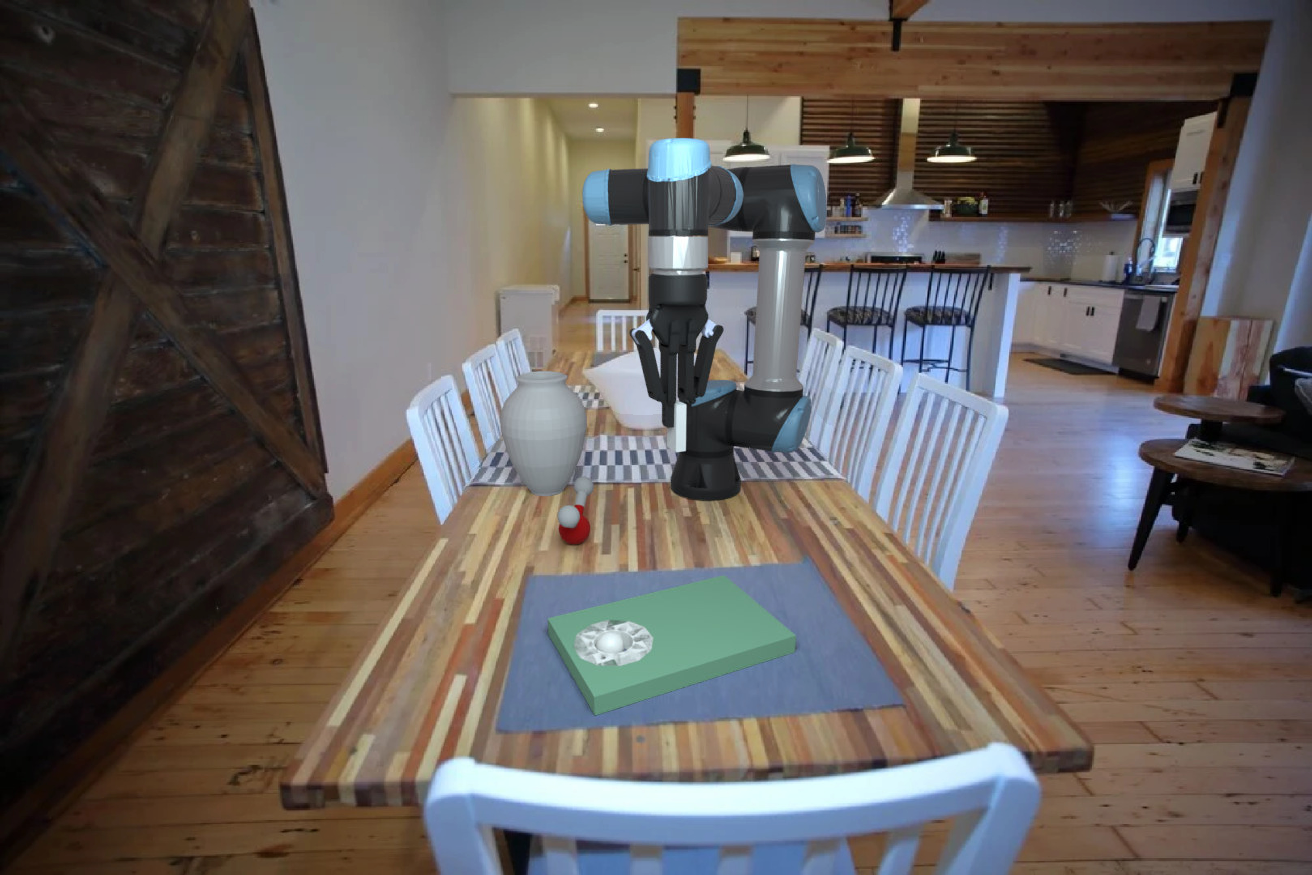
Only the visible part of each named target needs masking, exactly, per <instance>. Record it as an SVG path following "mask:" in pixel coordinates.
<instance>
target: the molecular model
mask: <svg viewBox="0 0 1312 875" xmlns="http://www.w3.org/2000/svg"><path fill="white" fill-rule="evenodd" d="M594 488H595V486H594V482H593V481H592V479H591V478H590V477H587V476H580V477H578V478H577V479H575V481H574V484H573V490H574V492H575V494H576V497H575V502H574V505H571V504H568V505H564V506H562V507H561V508H560V509H559V510H558V512H557V516H556V518H557V520H558V523H559V525H558V533H559V534H558V535H559V536H560V539H562V540H563V542H565V543H566V544H569V545H575V546H576V545H579V544H580V545H581V544H582V543H584V542H585V541H587V539H588V538H589V536H590V533H591V524H590V521H589V519H588V518H587V516H585V515H584V512H585V506H586V501H587V497H588V496H590V495H591V494H592V493H593V492H594V491H593V490H594Z"/></svg>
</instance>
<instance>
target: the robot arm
mask: <svg viewBox="0 0 1312 875" xmlns="http://www.w3.org/2000/svg"><path fill="white" fill-rule="evenodd" d="M647 164H648V165H647V168H646V167H645V168H621V169H620V168H619V169H611V168H606V169H603V170H595V171H592V172H590V173H589V174H588V175H587V176H586V178H585V180H584V182H583V185H582V192H581V193H582V206H583V209H584V212H585V215H586V218H588V219H589V220H590V222H592V223H593V224H596V225H607V226H628V225H630V226H633V225H648V268H649V269H650V270H652V271H653V272H652V273H650V274H649V276H648V306H649V308H648V311H647V313H646V316H645V322H643V323H642V324H641V325H640V326H638V327H637V328H631V329H630V330H629V336H630V338H631V340H632V341H633V342H634V344H635V346H636V348H637V353H638V357H639V361H640V366H641V369H642V370H641V371H642V373H643V378H644V382H645V387H646V391H647V395H648V398H650V399H652V400H654V401H656V402H658V403H661V424H662V426H663V427H665V428H666V430H667V431H666V435H667V436H666V439H667V440H666V447H667V448H668V449H670V451H671V450H672V451H673V452H674V453H678V455H677V458H676V461H675V464H674V467H673V470H672V473H671V476H670V490H671V491H672V492H673V493H674V494H676V495H678V496H680V497H682V498H687V499H689V500H690V499H691V500H697V501H718V500H725V499H730V498H732V497H734V496H737V495H738V494H739V493H740V492H741V487H742V486H741V485H742V480H741V479H742V478H741V475H740V474H741V473H740V471H739V468H738V464H737V462H736V457H735V454H734V452H735V450H734V449H735V448H734V447H738V448H742V449H743V448H746V449H751V450H758V451H764V452H766V451H767V452H771V453H773V454H774V453H783V454H791V453H795V452H796V451H797V450H798V449H799V448H800V446H802V445H801V444H802V443H803V441H804V438H805V436H806V432H807V429H808V426H809V422H810V416H811V412H812V399H811V397H809V396H808V395H804V385H803V384H802V382H800V380H799V379H798V377H797V373H798V361H799V360H798V358H799V347H800V346H799V344H800V330H801V320H802V319H801V318H802V307H803V306H802V305H803V292H804V279H805V267H806V265H805V263H806V252H807V251H808V249H810V247H812V245H814V244H815V242H816V240H815V239H816V233H821V232H822V231H824V230H825V227H826V223H827V212H828V210H827V194H826V187H825V182H824V179H823V176H822V173H821V171H820V169H818V168H817V166H814V165H811V164H796V163H791V164H779V165H763V166H762V165H761V166H739V167H734V168H733V167H732V168H726V167H723V166H721V165H712V160H711V149H710V145H709V143H708V142H707V141H705V140H703V139H697V138H692V137H691V138H689V137H687V138H686V137H680V138H679V137H674V138H673V137H672V138H664V139H663V138H661V139H659V140H656V141H654V142H653V143H651V145H650V146H649V149H648V163H647ZM709 228H713V229H718V230H725V231H732V232H744V233H748V232H749V233H750V232H751V233H752V240H751V241H752V243H753V244H754V245H755V246H756V248H758V251H759V258H758V275H757V292H756V293H757V294H756V310H755V311H756V312H755V323H754V324H755V327H754V329H755V330H754V342H753V343H754V344H753V358H752V359H753V360H752V363H753V364H752V375H751V376H750V377H749V378H748V379H747V380H746V381H745V382H744V384H743V390H742V389H741V390H740V389H738V385H737V383H736V382H735V381H733V380H730V379H713V380H709V378H710V374H711V369H712V365H713V361H714V357H715V352H716V349H717V348H716V347H717V343H718V342H719V340H720V338H721V336H722V334H724V331H725V329H724V326H723V325H720V324H717V323H715V322H713V321H712V320H711V319H709V313H708V311H707V308H706V304H707V300H708V276H707V274H706V273H704V270H707V269H708V268H709ZM652 334H653V335H654V336H655V338H656V339H657V341H658V350H659V353H660V357H659V360H660V366H659V367H658V364H657V358H656V353H655V349H654V346H653V344H652V342H651V341H652V340H653V335H652ZM700 334H701V337H700V340H699V344H698V348H697V339H698V338H699V336H700ZM695 353H696V356H695ZM659 368H660V369H659ZM659 370H660V371H659ZM677 399H678V400H677Z"/></svg>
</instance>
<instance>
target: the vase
mask: <svg viewBox="0 0 1312 875" xmlns="http://www.w3.org/2000/svg"><path fill="white" fill-rule="evenodd" d="M567 379H568V375H567V374H566V373H565V374H564V373H563V372H558V371H549V370H546V371H545V370H542V371H541V370H539V371H529V372H525V373H524V372H523V373H521V374H520V375H517V376H516V377H515V381H516V382H517V387H516V388H515V389H514V390H513V391H512V392H511V393H510V395H509V396H507V398H506V399H505V401H504V402H503V406H502V408H501V411H500V420H499V422H500V433H501V436H502V439H503V443H504V446H505V449H506V453H507V455H508V458H509V461H510V462H511V464H512V465H513V468H514V470H515V471H516V473H517V475H518V476H519V479H520V480H521V482H523V485H525V487H527V489H529V491H530V492H531V494H533V495H535V496H539V497H551V496H556V495H559V494H562V493H563V492H564V490H565V488H566V487H567V486H568V484H569V483H570V481H571V480H572V477H573V476H574V473H575V471H576V469H577V468H578V467H577V466H578V464H579V462H580V459H581V456H582V453H583V448H584V443H585V440H586V439H585V438H586V432H587V427H588V419H587V418H588V417H587V412H586V408H585V406H584V403H583V401H582V399H581V397H580V396H579V395H577V393H576V392H575V391H573V389H572V388H570V387H569V386H568V385H567V383H566V382H567Z"/></svg>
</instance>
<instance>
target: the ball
mask: <svg viewBox="0 0 1312 875" xmlns="http://www.w3.org/2000/svg"><path fill="white" fill-rule="evenodd" d="M596 649H597V650H599V651H601V652H604V653H610V654H617V653H621V652H624V650H625V649H624V641H623V639H622V637H621V636H620V635H619V634H617V633H615V632H605V633H603V634H602V635H601V636H600V637H599V638H598V640H597V644H596Z"/></svg>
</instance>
